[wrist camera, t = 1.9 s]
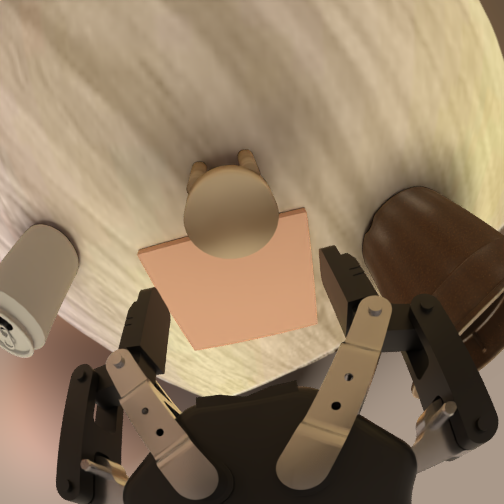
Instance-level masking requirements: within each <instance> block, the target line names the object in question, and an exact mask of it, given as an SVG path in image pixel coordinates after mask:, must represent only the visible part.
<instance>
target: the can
mask: <svg viewBox="0 0 504 504" xmlns="http://www.w3.org/2000/svg"><path fill="white" fill-rule="evenodd" d="M78 267H79V266H78V257H77V254H76V252H75V249H74V247H73V246H72V244H71V243H70V241H69V240H68V239H67V237H66V236H65V235H63V234H62V233H61V232H60V231H58V230H56V229H55V228H53V227H51V226H48V225H43V224H39V225H33V226H32V227H30V228H29V229H28V230H27V231H26V232H25V233H24V234H23V235H22V236H21V238H20V239H19V240H18V241H17V242H16V244H15V245H14V246H13V247H12V249H11V250H10V251H9V252H8V254H7V255H6V256H5V258H4V259H3V260H2V261H1V263H0V347H1V348H2V349H4V350H6V351H7V352H9V353H11V354H13V355H16V356H18V357H23V358H26V357H31V356H32V355H33V354H34V350H36V349H39V348H41V347H42V346H43V345H44V344H45V342H46V339H47V337H48V334H49V332H50V329H51V327H52V325H53V322H54V320H55V318H56V315H57V313H58V311H59V309H60V307H61V304H62V302H63V300H64V298H65V296H66V294H67V292H68V290H69V288H70V286H71V284H72V282H73V280H74V278H75V276H76V274H77V270H78Z"/></svg>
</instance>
